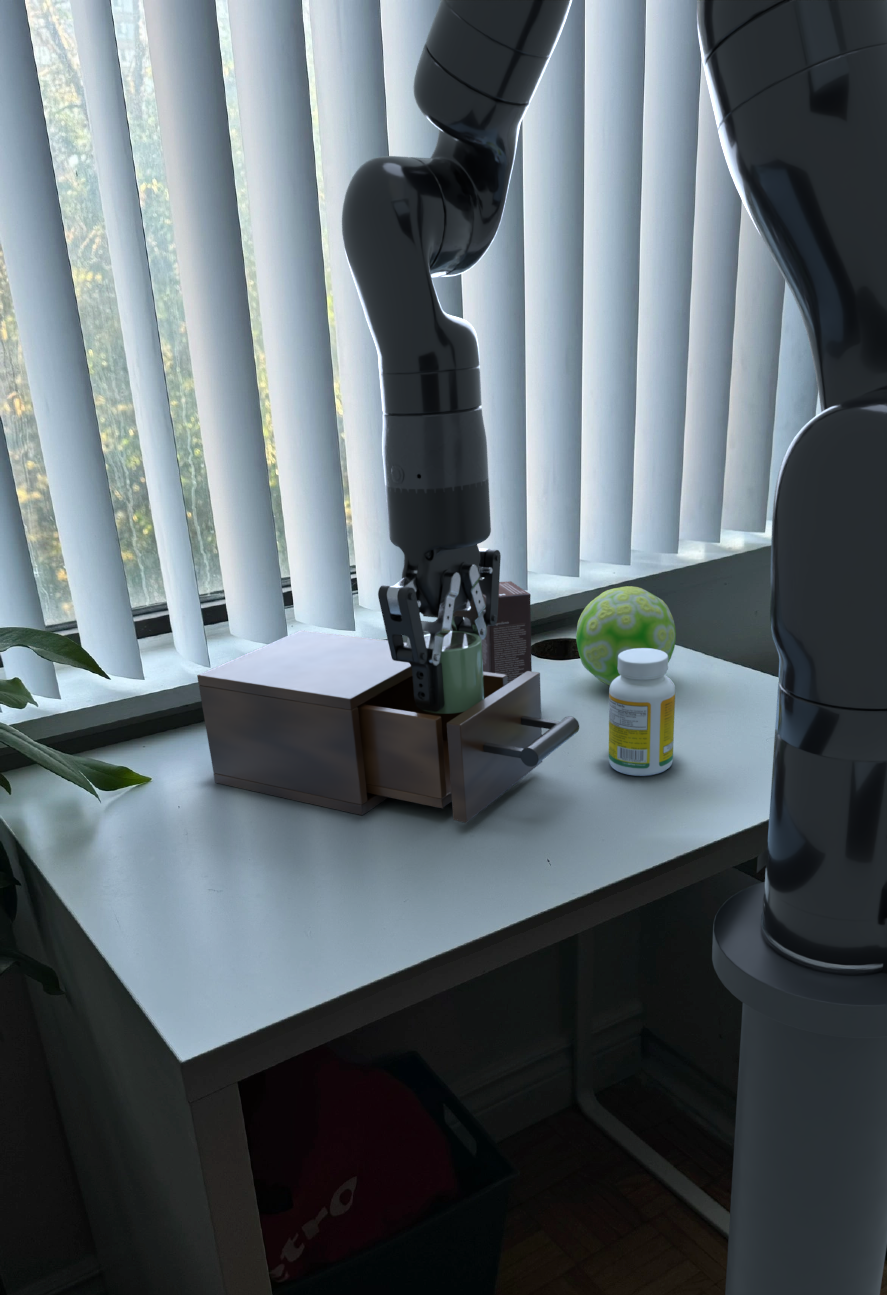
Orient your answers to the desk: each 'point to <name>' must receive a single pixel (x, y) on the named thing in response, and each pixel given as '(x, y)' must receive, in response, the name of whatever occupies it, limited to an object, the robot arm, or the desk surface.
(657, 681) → the supplement bottle
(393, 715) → the drawer
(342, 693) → the cabinet
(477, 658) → the pot
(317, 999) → the desk surface
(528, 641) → the box
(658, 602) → the decorative ball
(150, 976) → the desk surface
